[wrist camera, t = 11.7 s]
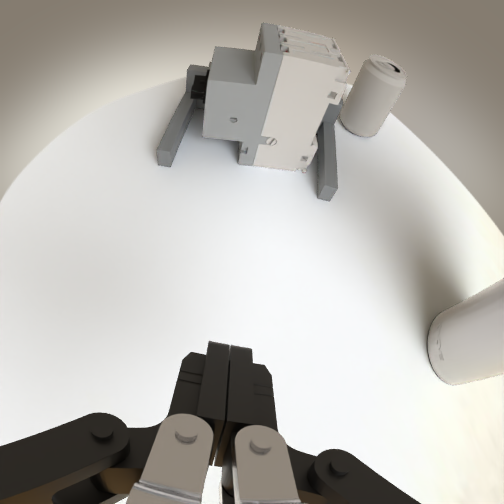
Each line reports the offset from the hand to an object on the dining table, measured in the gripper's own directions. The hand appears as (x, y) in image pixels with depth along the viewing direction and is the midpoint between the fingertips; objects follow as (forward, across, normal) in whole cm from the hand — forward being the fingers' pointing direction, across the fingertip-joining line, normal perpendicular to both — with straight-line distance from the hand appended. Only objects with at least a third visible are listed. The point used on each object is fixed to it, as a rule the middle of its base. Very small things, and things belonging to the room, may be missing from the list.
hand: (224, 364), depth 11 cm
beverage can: (+39, -15, -15) cm, 44 cm away
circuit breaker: (+31, +1, -8) cm, 32 cm away
